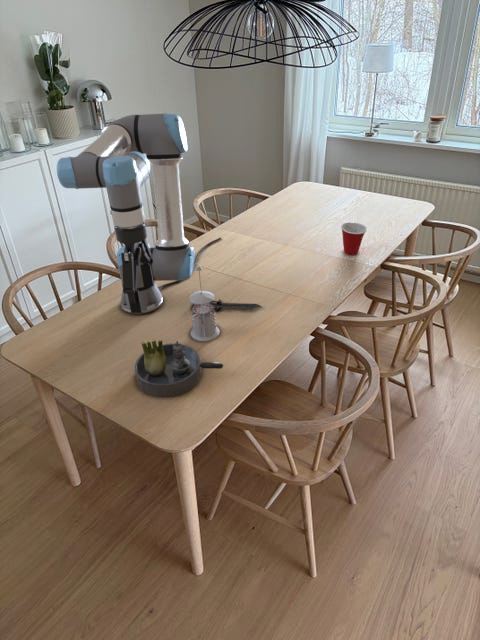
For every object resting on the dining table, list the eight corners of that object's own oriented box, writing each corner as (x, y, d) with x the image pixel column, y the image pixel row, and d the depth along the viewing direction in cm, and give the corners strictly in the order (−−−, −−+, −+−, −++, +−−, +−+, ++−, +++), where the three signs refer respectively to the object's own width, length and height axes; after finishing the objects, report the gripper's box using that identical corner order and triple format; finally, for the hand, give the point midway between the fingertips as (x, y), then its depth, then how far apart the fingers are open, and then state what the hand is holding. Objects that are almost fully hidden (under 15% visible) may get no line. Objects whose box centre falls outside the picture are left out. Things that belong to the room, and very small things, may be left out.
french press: (220, 323, 162) (215, 258, 148) (218, 344, 153) (213, 276, 139) (191, 324, 163) (184, 259, 149) (188, 344, 153) (180, 277, 139)
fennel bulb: (168, 369, 142) (163, 337, 135) (162, 379, 138) (156, 347, 131) (150, 366, 143) (144, 334, 137) (144, 377, 139) (137, 344, 133)
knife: (262, 306, 171) (262, 302, 170) (259, 315, 166) (259, 312, 165) (196, 300, 176) (195, 297, 175) (191, 309, 170) (190, 306, 170)
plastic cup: (359, 260, 197) (362, 233, 191) (334, 255, 202) (336, 228, 196) (367, 250, 205) (371, 224, 198) (344, 245, 210) (346, 220, 203)
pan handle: (199, 369, 138) (199, 364, 137) (200, 365, 139) (200, 360, 138) (223, 369, 137) (222, 365, 136) (223, 366, 139) (223, 361, 138)
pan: (145, 354, 150) (143, 343, 147) (205, 355, 148) (204, 343, 146) (129, 396, 134) (126, 384, 131) (196, 397, 132) (195, 385, 130)
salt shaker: (174, 366, 143) (169, 334, 136) (193, 367, 142) (189, 335, 136) (169, 379, 138) (164, 346, 131) (189, 380, 137) (185, 347, 131)
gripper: (128, 205, 125) (140, 276, 137) (98, 245, 104) (116, 324, 116) (155, 205, 124) (166, 275, 136) (131, 245, 104) (146, 324, 116)
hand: (143, 298), depth 126 cm, fingers open, 13 cm apart
